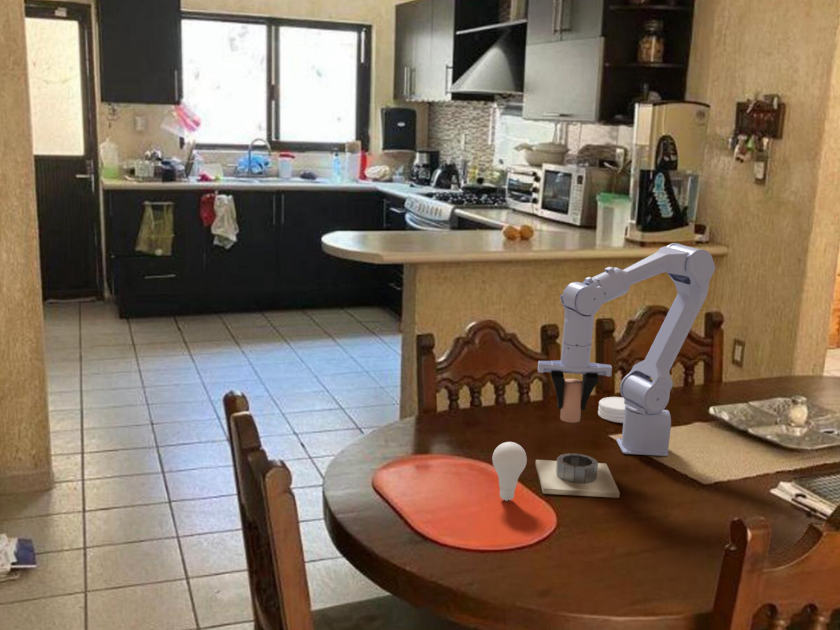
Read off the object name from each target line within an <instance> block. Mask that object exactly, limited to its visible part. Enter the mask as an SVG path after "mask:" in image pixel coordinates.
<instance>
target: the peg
mask: <svg viewBox="0 0 840 630" xmlns="http://www.w3.org/2000/svg"><path fill="white" fill-rule="evenodd" d="M564 379H565V381H564V388H563V404H562V409H560V413H559V415H560V416H559V419H560V420H561V421H562V422H566V423H578V422H580V421H581V411H582V410H581V404H582V393H583V380H581V379H577V378H564Z"/></svg>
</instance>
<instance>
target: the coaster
mask: <svg viewBox="0 0 840 630" xmlns="http://www.w3.org/2000/svg"><path fill="white" fill-rule="evenodd" d="M597 408H598V410H597V414H598V416H599V417H600V418H602V419H604V420H606V421H609V422H612V423H618V424H619V423H620V424H623V422H624V412H625V404H624V398H623V397H622V396H621V397H620V396H609V397H608V396H607V397H603V398H601V399H600V400H599V401H598V407H597Z"/></svg>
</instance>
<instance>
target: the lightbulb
mask: <svg viewBox="0 0 840 630" xmlns="http://www.w3.org/2000/svg"><path fill="white" fill-rule="evenodd" d="M491 459H492V465H493V468H494V470H495V471H496V474H497V478H498V486H499V497H500V499H501V500H503V501H504V500H505V501H504V502H509V501H511V500H513V499H514V497H515V492H516V491H515V490H516V488H517V484H518V480H519V479H520V476H521V474H522V473H523V471H524V470H525V469H526V466H527V462H528V458H527V453H526V451H525V449H524V448H523V447H522V446H521V445H520V444H518V443H517V442H513V441H506V442H502V443H500V444H499V445H498V446H497V447H496V448H495V449H494V451H493V453H492V458H491ZM508 500H509V501H508Z"/></svg>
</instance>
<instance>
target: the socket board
mask: <svg viewBox="0 0 840 630" xmlns="http://www.w3.org/2000/svg"><path fill="white" fill-rule="evenodd" d="M534 466H535V468H536V472H537V475H538V479H539V483H540V487H541V490H542V494H545V495H547V494H548V495H564V496H581V497H582V496H583V497H599V498H600V497H601V498H602V497H603V498H615V499H617V498H620V495H621V493H620V491H619V488H618V486H617V484H616V482H615V479H614V477H613V475H612V473H611V471H610V469H609V466H608V465H607V463H604V462H603V463H601V462H598V461H597V459H595V458H594V457H592V456H590V455H586V454H581V453H574V452H573V453H571V452H569V453H563V454H560V455H558V457H557V458H556V460H548V459H535V465H534Z"/></svg>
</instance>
